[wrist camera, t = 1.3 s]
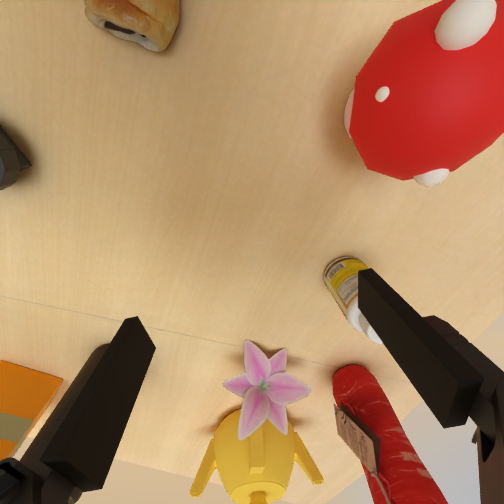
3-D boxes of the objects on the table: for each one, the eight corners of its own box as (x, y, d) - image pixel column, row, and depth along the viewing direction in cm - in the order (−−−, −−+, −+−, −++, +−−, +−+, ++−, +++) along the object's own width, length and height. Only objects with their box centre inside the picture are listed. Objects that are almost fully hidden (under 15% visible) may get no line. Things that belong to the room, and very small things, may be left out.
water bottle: (303, 369, 39) (392, 676, 17) (340, 343, 37) (499, 660, 14) (346, 395, 43) (463, 670, 21) (381, 373, 41) (555, 656, 19)
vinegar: (134, 341, 34) (20, 567, 16) (143, 371, 37) (56, 590, 19) (86, 343, 34) (-85, 577, 16) (99, 373, 37) (-31, 598, 19)
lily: (307, 362, 40) (330, 393, 30) (265, 419, 39) (275, 469, 29) (254, 319, 40) (260, 336, 30) (210, 375, 39) (202, 411, 29)
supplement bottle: (358, 289, 32) (407, 349, 23) (319, 290, 32) (353, 351, 23) (367, 253, 30) (426, 305, 20) (325, 254, 29) (366, 307, 20)
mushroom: (431, 148, 24) (585, 156, 14) (330, 185, 25) (399, 220, 15) (431, 19, 20) (666, -123, 9) (308, 72, 21) (384, 3, 10)
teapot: (252, 387, 41) (257, 477, 30) (312, 419, 46) (335, 504, 36) (195, 430, 45) (182, 519, 35) (255, 453, 51) (260, 537, 40)
